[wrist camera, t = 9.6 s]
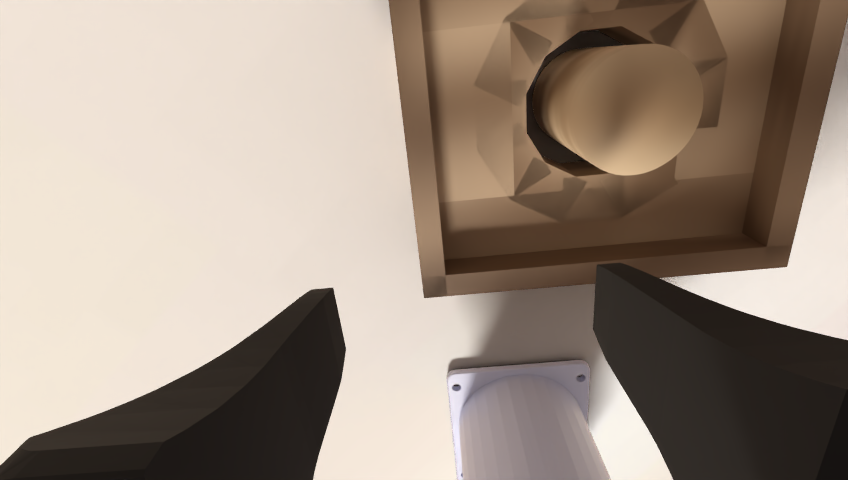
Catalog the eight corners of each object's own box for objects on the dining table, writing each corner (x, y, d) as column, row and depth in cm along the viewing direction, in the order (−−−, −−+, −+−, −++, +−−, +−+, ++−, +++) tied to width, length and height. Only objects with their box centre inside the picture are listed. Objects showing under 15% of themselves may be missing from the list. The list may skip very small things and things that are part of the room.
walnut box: (725, 231, 22) (787, 266, 18) (424, 258, 22) (424, 297, 19) (786, -117, 16) (892, -169, 12) (387, -66, 17) (376, -101, 13)
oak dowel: (619, 139, 20) (693, 170, 14) (531, 146, 20) (571, 180, 15) (627, 43, 18) (713, 37, 13) (532, 53, 19) (576, 50, 13)
